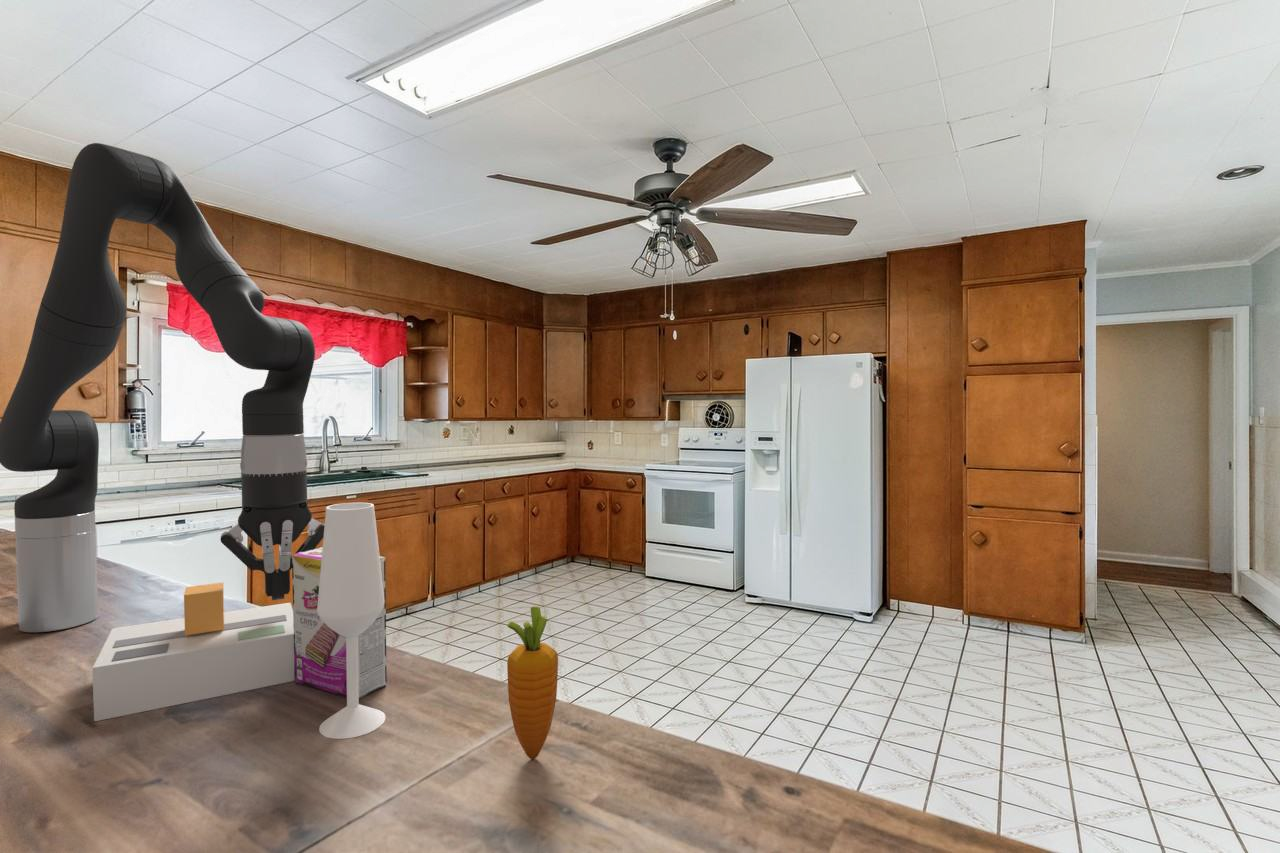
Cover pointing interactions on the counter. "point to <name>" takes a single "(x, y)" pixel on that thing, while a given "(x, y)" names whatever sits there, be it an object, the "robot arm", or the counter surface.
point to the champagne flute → (350, 602)
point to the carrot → (532, 684)
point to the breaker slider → (204, 608)
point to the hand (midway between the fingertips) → (277, 598)
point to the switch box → (192, 661)
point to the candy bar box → (331, 636)
